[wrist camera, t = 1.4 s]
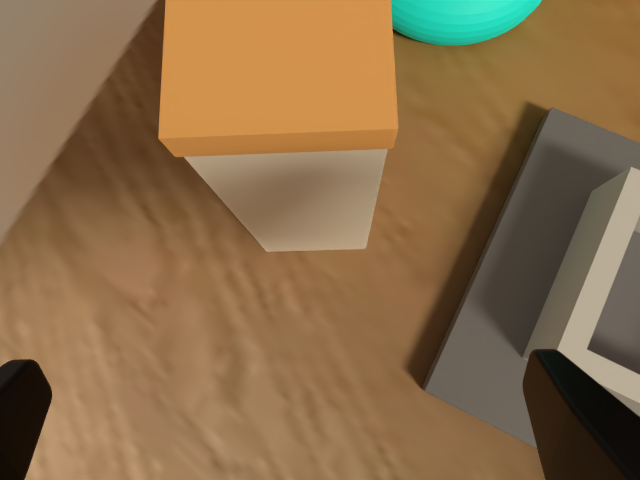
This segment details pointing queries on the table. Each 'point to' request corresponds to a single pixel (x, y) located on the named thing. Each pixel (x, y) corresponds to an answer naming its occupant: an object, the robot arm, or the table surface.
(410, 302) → the table surface
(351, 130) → the plug
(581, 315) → the socket
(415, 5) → the donuts
